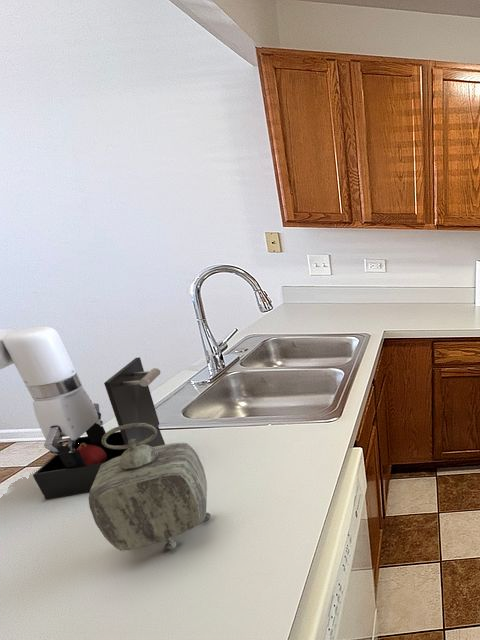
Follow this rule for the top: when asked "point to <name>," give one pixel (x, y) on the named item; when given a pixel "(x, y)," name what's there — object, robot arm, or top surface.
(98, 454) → the red round piece
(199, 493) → the tabletop clock
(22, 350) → the robot arm
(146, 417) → the lid
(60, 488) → the black shallow rectangular box
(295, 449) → the top surface
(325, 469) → the top surface
